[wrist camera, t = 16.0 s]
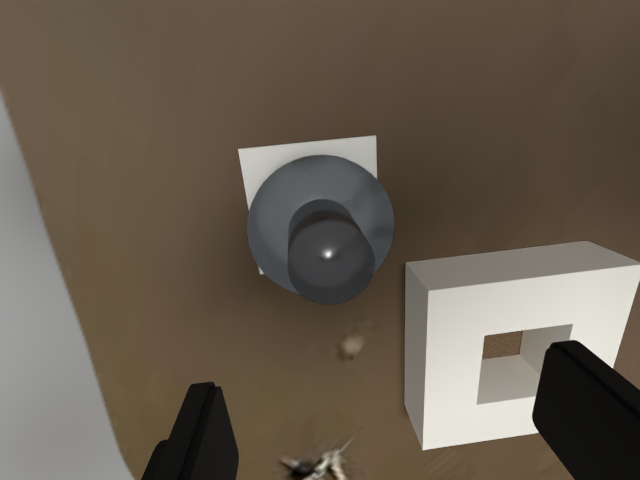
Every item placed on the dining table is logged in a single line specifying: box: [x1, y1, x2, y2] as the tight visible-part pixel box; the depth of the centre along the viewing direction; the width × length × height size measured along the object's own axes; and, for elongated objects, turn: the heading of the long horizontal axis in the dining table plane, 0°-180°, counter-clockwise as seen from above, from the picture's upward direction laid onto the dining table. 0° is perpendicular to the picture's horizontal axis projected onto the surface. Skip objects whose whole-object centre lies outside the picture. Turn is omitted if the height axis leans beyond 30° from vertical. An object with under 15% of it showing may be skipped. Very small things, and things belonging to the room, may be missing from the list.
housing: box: [404, 241, 640, 450], centre depth 35 cm, size 20×20×6 cm
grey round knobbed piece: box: [247, 154, 394, 304], centre depth 24 cm, size 11×11×12 cm
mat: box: [238, 135, 377, 274], centre depth 30 cm, size 12×12×1 cm
